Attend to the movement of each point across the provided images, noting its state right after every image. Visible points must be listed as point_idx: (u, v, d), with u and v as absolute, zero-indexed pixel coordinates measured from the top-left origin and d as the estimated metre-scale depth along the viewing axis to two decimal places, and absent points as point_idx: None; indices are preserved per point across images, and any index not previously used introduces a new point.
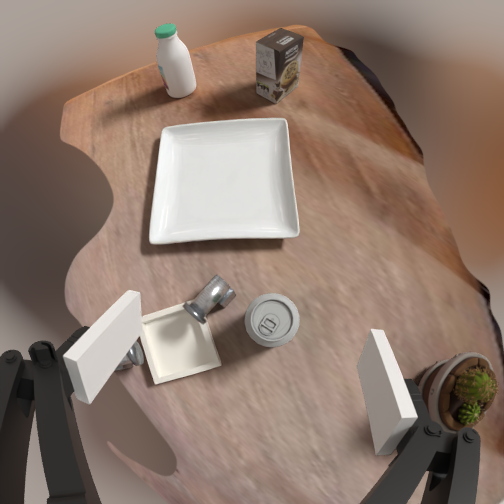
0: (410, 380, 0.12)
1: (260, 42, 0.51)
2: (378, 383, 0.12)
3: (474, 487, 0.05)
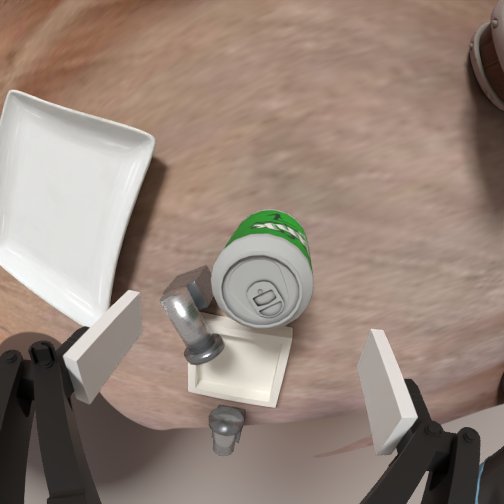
0: (410, 380, 0.12)
1: None
2: (378, 383, 0.12)
3: (474, 487, 0.05)
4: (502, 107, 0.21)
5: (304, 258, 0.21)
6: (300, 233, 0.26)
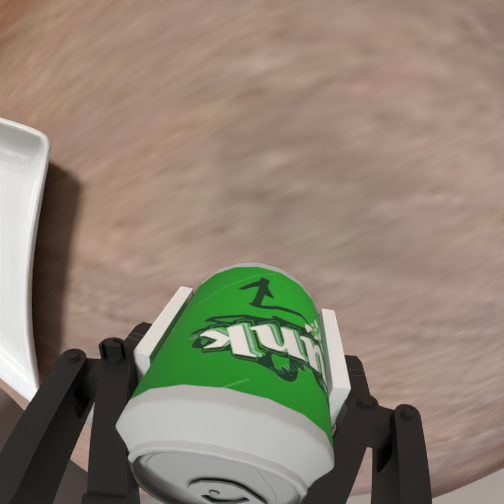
0: (355, 357, 0.14)
1: None
2: None
3: (425, 464, 0.07)
4: None
5: (318, 441, 0.07)
6: (308, 327, 0.12)
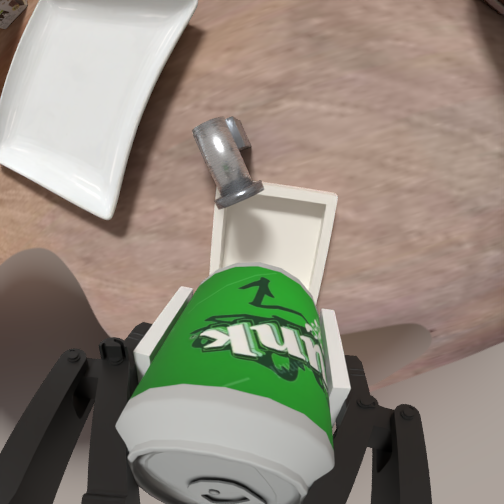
0: (355, 357, 0.14)
1: None
2: None
3: (425, 464, 0.07)
4: (499, 5, 0.17)
5: (319, 440, 0.07)
6: (309, 327, 0.12)
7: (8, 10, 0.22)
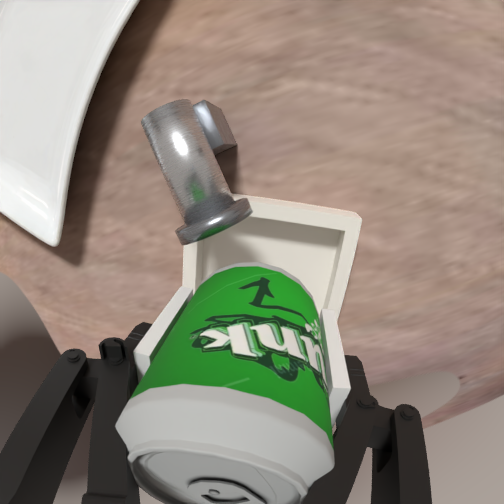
0: (355, 357, 0.14)
1: None
2: None
3: (425, 464, 0.07)
4: None
5: (319, 440, 0.07)
6: (309, 327, 0.12)
7: None
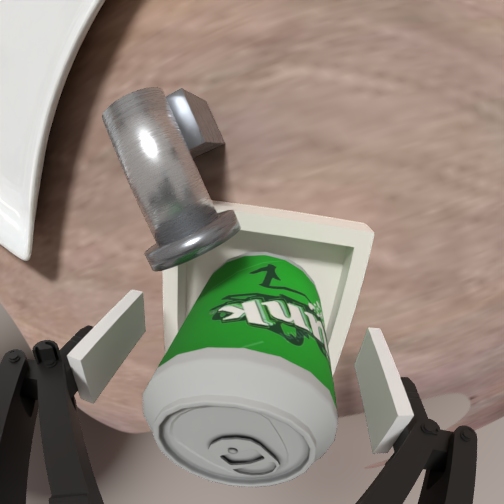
0: (407, 378, 0.12)
1: None
2: (375, 381, 0.13)
3: (472, 485, 0.06)
4: None
5: (323, 395, 0.09)
6: (311, 306, 0.14)
7: None
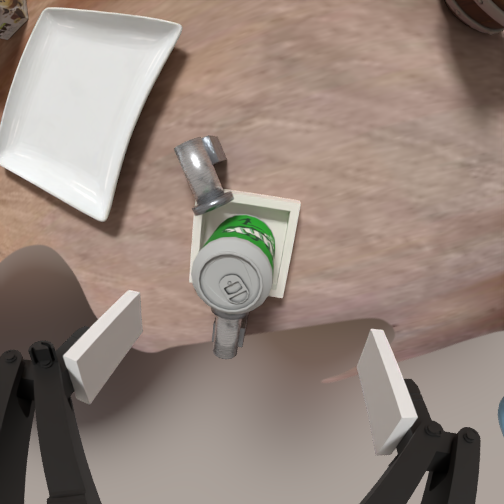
0: (410, 380, 0.12)
1: None
2: (378, 383, 0.12)
3: (474, 487, 0.05)
4: (470, 21, 0.22)
5: (264, 256, 0.27)
6: (266, 235, 0.32)
7: (10, 23, 0.26)
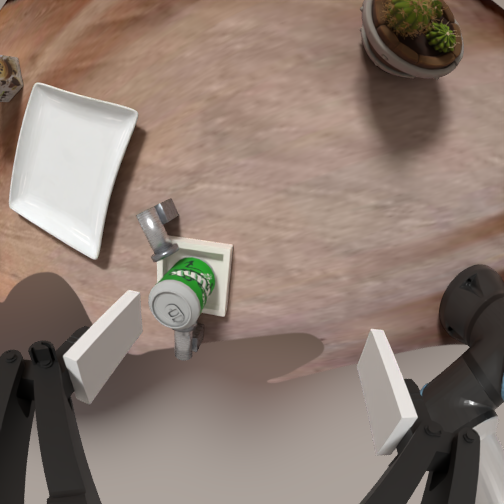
0: (410, 380, 0.12)
1: None
2: (378, 382, 0.12)
3: (474, 487, 0.05)
4: (387, 70, 0.34)
5: (192, 292, 0.39)
6: (202, 274, 0.45)
7: (8, 90, 0.40)
